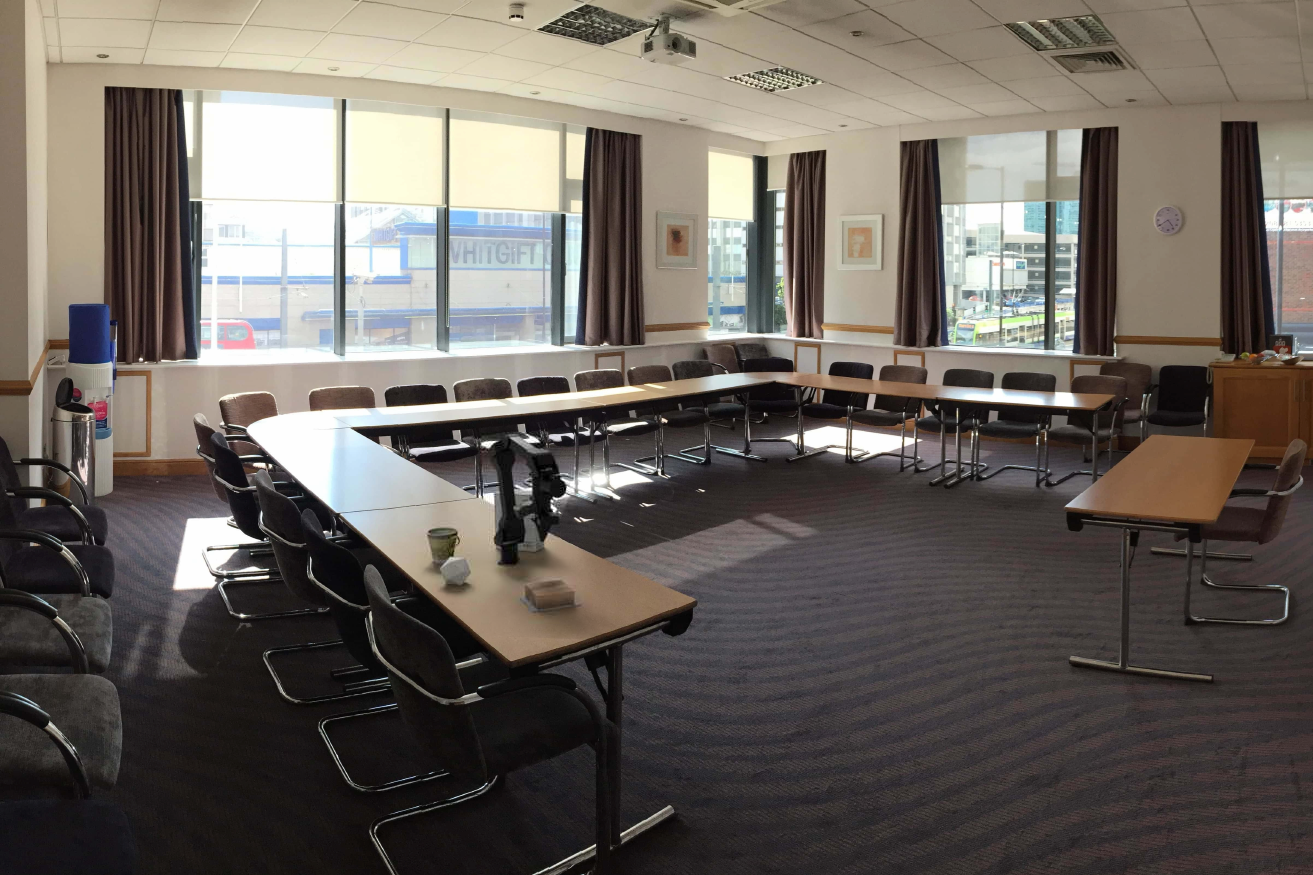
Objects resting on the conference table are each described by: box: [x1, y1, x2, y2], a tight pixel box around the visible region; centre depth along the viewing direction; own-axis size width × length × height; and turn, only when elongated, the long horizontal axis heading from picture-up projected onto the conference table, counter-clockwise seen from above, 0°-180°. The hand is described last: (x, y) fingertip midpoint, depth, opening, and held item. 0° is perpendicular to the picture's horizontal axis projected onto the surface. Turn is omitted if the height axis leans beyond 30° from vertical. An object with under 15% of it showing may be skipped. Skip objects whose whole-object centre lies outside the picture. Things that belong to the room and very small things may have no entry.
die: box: [439, 556, 472, 586], centre depth 285 cm, size 8×9×10 cm
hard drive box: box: [493, 489, 545, 553], centre depth 323 cm, size 16×8×20 cm, turn 74°
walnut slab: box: [524, 578, 575, 610], centre depth 269 cm, size 4×11×12 cm
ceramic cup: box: [426, 526, 461, 564], centre depth 308 cm, size 13×10×10 cm
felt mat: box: [519, 597, 581, 613], centre depth 269 cm, size 12×14×1 cm
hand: (542, 541), depth 288 cm, fingers closed
